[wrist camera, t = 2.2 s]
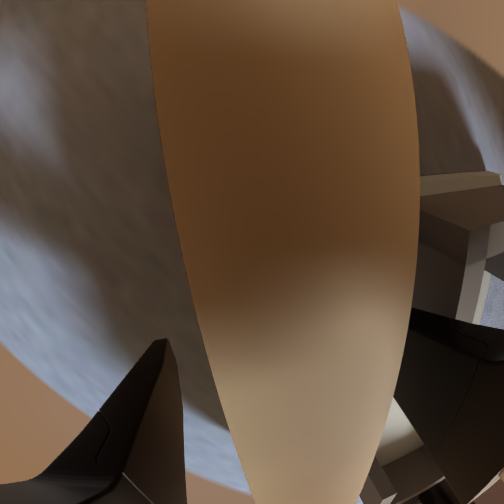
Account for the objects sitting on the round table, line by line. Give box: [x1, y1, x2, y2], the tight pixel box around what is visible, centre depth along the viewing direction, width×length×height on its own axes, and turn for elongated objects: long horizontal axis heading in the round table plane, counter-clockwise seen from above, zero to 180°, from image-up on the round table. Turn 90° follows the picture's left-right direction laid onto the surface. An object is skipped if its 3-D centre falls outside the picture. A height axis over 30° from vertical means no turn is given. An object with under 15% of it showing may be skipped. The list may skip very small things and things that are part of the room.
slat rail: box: [359, 171, 504, 504], centre depth 13 cm, size 7×21×4 cm, turn 7°
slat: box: [146, 0, 420, 504], centre depth 8 cm, size 3×16×6 cm, turn 7°
